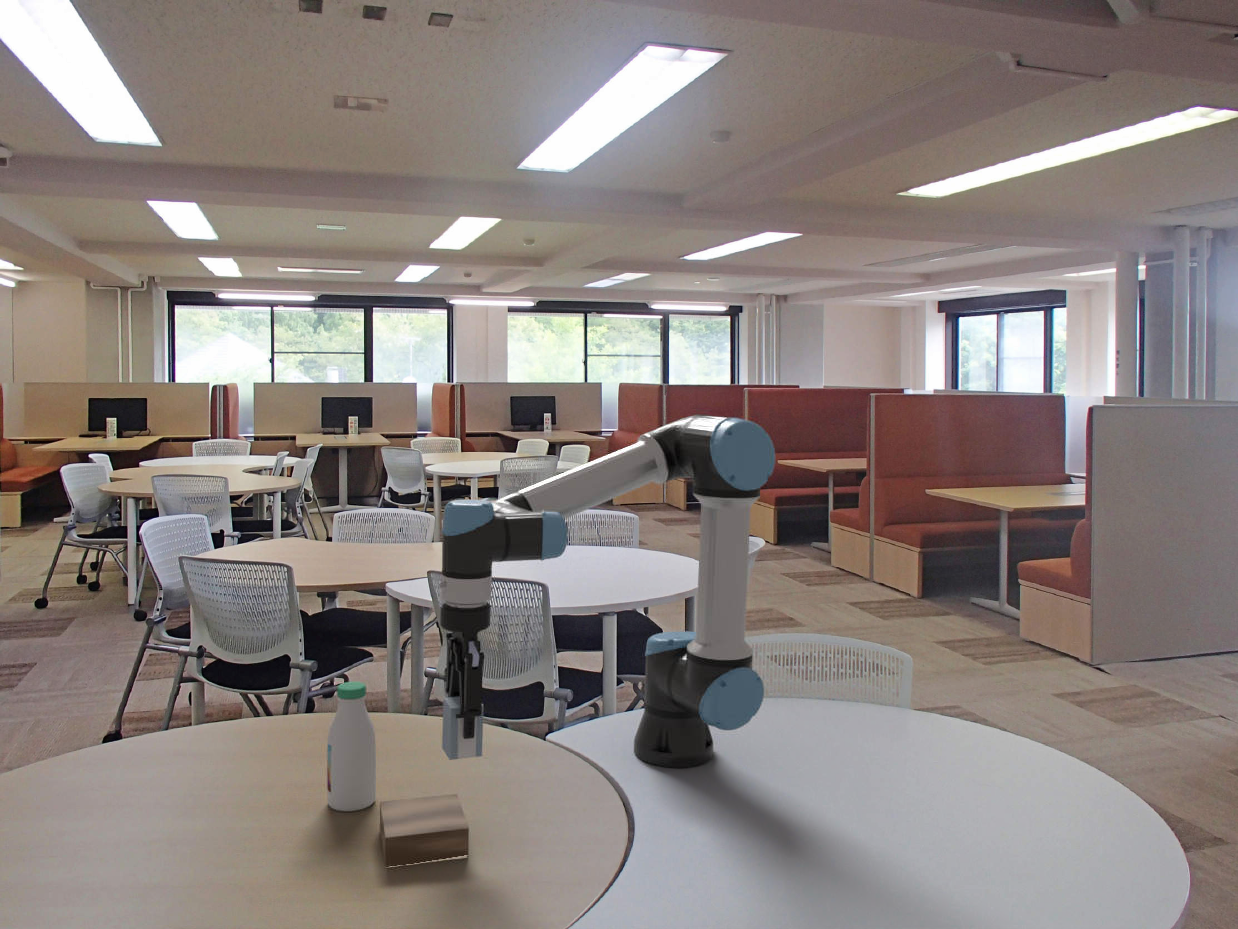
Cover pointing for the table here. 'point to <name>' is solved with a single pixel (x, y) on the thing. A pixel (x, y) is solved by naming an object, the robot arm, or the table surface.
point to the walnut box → (423, 829)
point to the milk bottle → (351, 752)
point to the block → (451, 728)
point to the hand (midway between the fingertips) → (461, 749)
